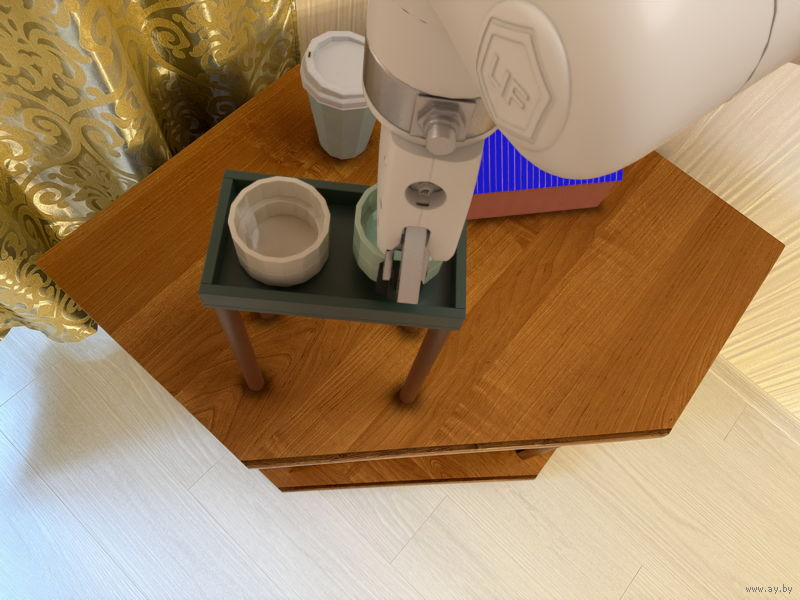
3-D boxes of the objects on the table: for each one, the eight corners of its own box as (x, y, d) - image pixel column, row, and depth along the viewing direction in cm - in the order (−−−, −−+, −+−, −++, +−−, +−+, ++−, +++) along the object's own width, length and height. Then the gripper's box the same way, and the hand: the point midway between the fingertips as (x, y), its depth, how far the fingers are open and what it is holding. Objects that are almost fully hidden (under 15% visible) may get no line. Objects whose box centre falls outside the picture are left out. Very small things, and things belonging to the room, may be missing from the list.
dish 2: (443, 296, 44) (454, 268, 40) (348, 286, 43) (350, 258, 39) (445, 215, 47) (456, 182, 43) (356, 205, 46) (359, 171, 42)
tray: (415, 405, 67) (465, 319, 43) (245, 391, 66) (197, 293, 42) (419, 319, 72) (467, 196, 47) (259, 303, 70) (224, 168, 46)
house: (441, 148, 82) (458, 87, 72) (574, 137, 86) (610, 78, 75) (459, 222, 78) (480, 169, 67) (600, 208, 81) (641, 155, 71)
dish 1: (324, 293, 45) (324, 267, 41) (230, 284, 44) (220, 256, 40) (333, 214, 48) (334, 182, 44) (245, 205, 47) (237, 171, 43)
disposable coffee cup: (384, 116, 83) (395, 29, 70) (380, 179, 79) (391, 100, 65) (308, 107, 82) (304, 18, 69) (299, 171, 78) (294, 89, 64)
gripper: (523, 231, 25) (446, 360, 41) (514, -46, 32) (451, 156, 48) (346, 212, 25) (338, 350, 41) (376, -66, 32) (359, 146, 48)
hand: (400, 244), depth 44 cm, fingers closed on dish 2, 7 cm apart
